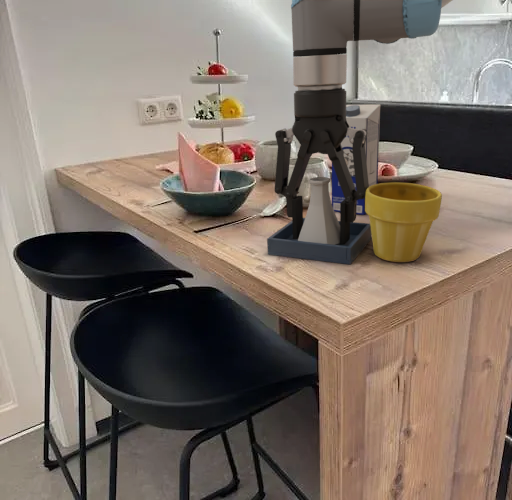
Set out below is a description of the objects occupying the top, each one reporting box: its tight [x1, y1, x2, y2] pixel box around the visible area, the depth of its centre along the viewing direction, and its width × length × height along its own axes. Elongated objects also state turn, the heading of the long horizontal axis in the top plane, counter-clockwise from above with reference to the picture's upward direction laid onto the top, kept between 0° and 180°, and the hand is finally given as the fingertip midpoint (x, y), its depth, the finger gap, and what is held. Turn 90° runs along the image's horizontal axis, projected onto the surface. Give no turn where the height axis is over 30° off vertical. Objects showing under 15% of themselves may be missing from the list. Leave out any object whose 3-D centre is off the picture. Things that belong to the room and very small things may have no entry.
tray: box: [266, 217, 372, 265], centre depth 79 cm, size 13×12×3 cm
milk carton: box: [331, 103, 382, 216], centre depth 96 cm, size 7×7×20 cm
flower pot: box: [365, 181, 443, 263], centre depth 73 cm, size 10×10×10 cm
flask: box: [298, 176, 340, 245], centre depth 78 cm, size 7×7×10 cm
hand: (321, 238), depth 80 cm, fingers closed on flask, 7 cm apart
